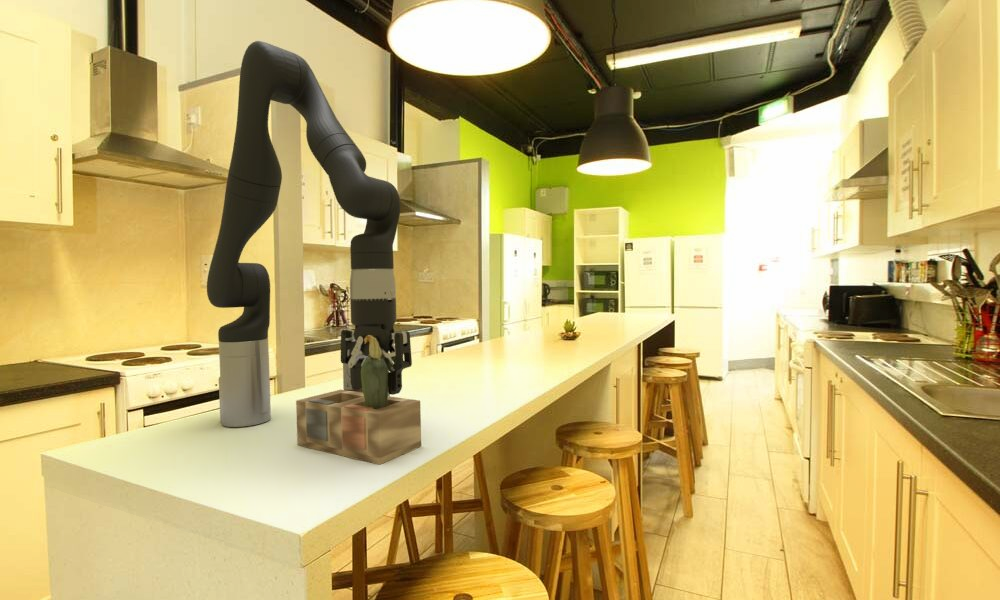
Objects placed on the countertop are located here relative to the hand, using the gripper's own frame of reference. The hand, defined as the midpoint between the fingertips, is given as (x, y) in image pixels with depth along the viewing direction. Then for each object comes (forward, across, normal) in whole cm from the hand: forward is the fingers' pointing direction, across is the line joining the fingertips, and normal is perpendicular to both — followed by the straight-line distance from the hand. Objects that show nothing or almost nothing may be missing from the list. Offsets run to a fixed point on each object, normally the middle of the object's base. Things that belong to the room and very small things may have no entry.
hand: (375, 391), depth 86 cm
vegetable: (+9, -1, 0) cm, 9 cm away
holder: (+10, -4, 0) cm, 11 cm away
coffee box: (+10, -16, +13) cm, 23 cm away
